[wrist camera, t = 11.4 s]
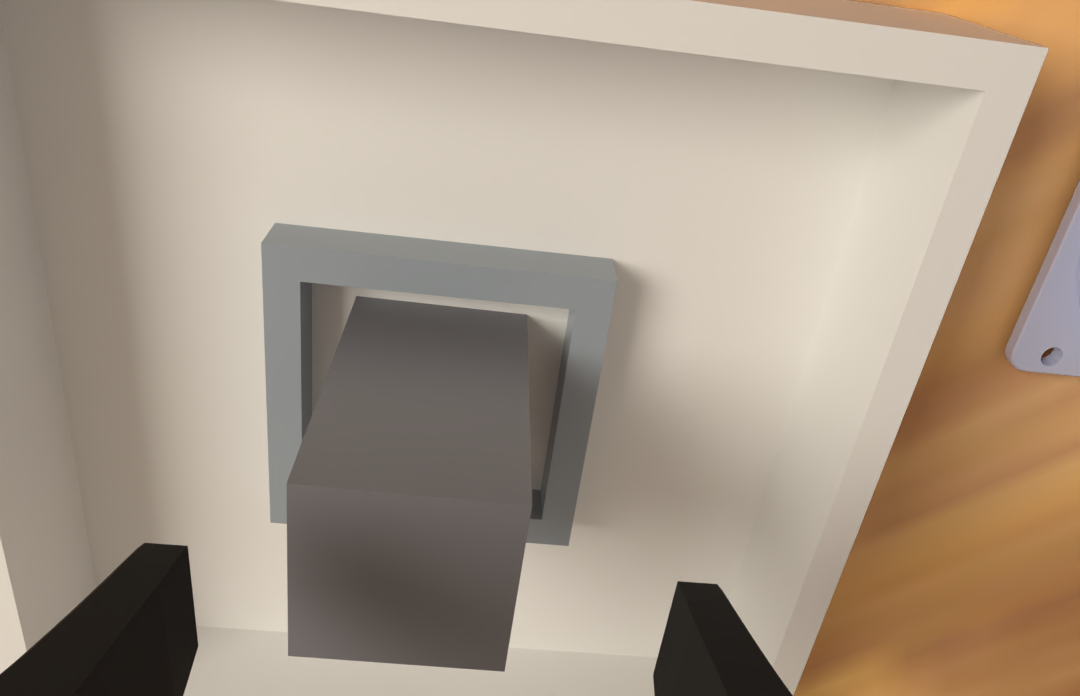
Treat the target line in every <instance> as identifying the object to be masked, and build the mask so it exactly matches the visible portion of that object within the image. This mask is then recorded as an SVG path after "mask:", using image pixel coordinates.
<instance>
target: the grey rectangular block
mask: <svg viewBox="0 0 1080 696" xmlns="http://www.w3.org/2000/svg"><path fill="white" fill-rule="evenodd" d="M286 488H287V597H288V656H295V657H309V658H323V659H337V660H350V661H364V662H378V663H392V664H405V665H419V666H433V667H447V668H461V669H474V670H488V671H502V672H505V666H506V660H507V654H508V648H509V642H510V636H511V630H512V624H513V617H514V611H515V605H516V599H517V593H518V587H519V581H520V575H521V569H522V563H523V557H524V551H525V545H526V539H527V533H528V527H529V521H530V515H531V509H532V483H531V445H530V408H529V370H528V333H527V314H518V313H509V312H499V311H490V310H481V309H472V308H463V307H454V306H445V305H435V304H426V303H417V302H408V301H399V300H390V299H381V298H371V297H362V296H356V298H355V301H354V304H353V306H352V309H351V312H350V315H349V317H348V320H347V323H346V325H345V328H344V331H343V333H342V336H341V339H340V341H339V344H338V347H337V349H336V352H335V355H334V357H333V360H332V363H331V365H330V368H329V371H328V374H327V376H326V379H325V382H324V384H323V387H322V390H321V392H320V395H319V398H318V400H317V403H316V406H315V408H314V411H313V414H312V416H311V419H310V422H309V424H308V427H307V430H306V432H305V435H304V438H303V441H302V443H301V446H300V449H299V451H298V454H297V457H296V459H295V462H294V465H293V467H292V470H291V473H290V475H289V478H288V481H287V483H286Z"/></svg>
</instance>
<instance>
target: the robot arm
mask: <svg viewBox="0 0 1080 696" xmlns="http://www.w3.org/2000/svg"><path fill="white" fill-rule="evenodd" d="M1050 348H1054V349H1053V351H1052V352H1051V353H1050V355H1048V356H1046V357H1044V358H1041V356H1042V354H1043V353H1044V352H1045V351H1046V350H1048V349H1050ZM1005 355H1006V359H1007V360H1008V361H1009V362H1010V363H1011V364H1012V365H1013V366H1014V367H1015V368H1016V369H1018V370H1021V371H1026V372H1036V373H1046V374H1056V375H1066V376H1076V377H1080V181H1079V183H1078V185H1077V187H1076V190H1075V192H1074V194H1073V196H1072V199H1071V201H1070V203H1069V206H1068V208H1067V210H1066V212H1065V215H1064V217H1063V219H1062V221H1061V224H1060V226H1059V228H1058V230H1057V233H1056V235H1055V237H1054V239H1053V242H1052V244H1051V246H1050V248H1049V251H1048V253H1047V255H1046V257H1045V260H1044V262H1043V264H1042V266H1041V269H1040V271H1039V273H1038V276H1037V278H1036V280H1035V282H1034V285H1033V287H1032V289H1031V291H1030V294H1029V296H1028V298H1027V300H1026V303H1025V305H1024V307H1023V309H1022V312H1021V314H1020V316H1019V318H1018V321H1017V323H1016V325H1015V327H1014V330H1013V332H1012V334H1011V336H1010V339H1009V341H1008V343H1007V346H1006V350H1005ZM197 649H198V638H197V629H196V619H195V610H194V600H193V591H192V581H191V572H190V562H189V553H188V546H183V545H170V544H156V543H143V544H142V545H141V546H140V547H138V548H137V549H136V550H135V551H134V552H133V553H132V554H131V555H130V556H129V557H127V558H126V559H125V560H124V561H123V562H122V563H121V564H120V565H119V566H118V567H117V568H116V569H115V570H114V571H113V572H112V573H111V574H110V575H109V576H108V577H107V578H106V579H105V580H104V581H103V582H102V583H100V584H99V585H98V586H97V587H96V588H95V589H94V590H93V591H92V592H91V593H90V594H89V595H88V596H87V597H86V598H85V599H84V600H83V601H81V602H80V603H79V604H78V605H77V606H76V607H75V608H74V609H73V610H72V611H71V612H70V613H69V614H68V615H67V616H65V617H64V618H63V619H62V620H61V621H60V622H59V623H58V624H57V625H55V626H54V627H53V628H52V629H51V630H50V631H49V632H48V633H47V634H45V635H44V636H43V637H42V638H41V639H40V640H39V641H38V642H37V643H35V644H34V645H33V646H32V647H31V648H30V649H29V650H28V651H27V652H25V653H24V654H23V655H22V656H21V657H20V658H19V659H17V660H16V661H15V662H14V663H13V664H12V665H10V666H9V667H8V668H7V669H6V670H4V671H3V672H2V673H1V674H0V696H183V694H184V691H185V688H186V685H187V682H188V679H189V675H190V672H191V669H192V665H193V662H194V659H195V655H196V652H197ZM653 682H654V694H655V696H793V695H792V694H791V692H790V691H789V690H788V688H787V687H786V685H785V684H784V683H783V681H782V680H781V679H780V677H779V676H778V674H777V673H776V671H775V670H774V668H773V667H772V666H771V664H770V663H769V661H768V660H767V658H766V657H765V655H764V654H763V652H762V651H761V649H760V648H759V646H758V645H757V643H756V642H755V640H754V639H753V637H752V636H751V634H750V633H749V631H748V630H747V628H746V626H745V625H744V623H743V622H742V620H741V619H740V617H739V616H738V614H737V612H736V611H735V609H734V608H733V606H732V605H731V603H730V601H729V600H728V598H727V597H726V595H725V594H724V592H723V590H722V589H721V588H720V587H719V586H718V584H710V583H696V582H682V581H678V582H677V585H676V589H675V593H674V597H673V601H672V604H671V608H670V612H669V616H668V620H667V623H666V627H665V631H664V635H663V639H662V642H661V646H660V650H659V654H658V658H657V661H656V665H655V669H654V673H653Z"/></svg>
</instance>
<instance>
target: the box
mask: <svg viewBox="0 0 1080 696" xmlns="http://www.w3.org/2000/svg"><path fill="white" fill-rule="evenodd" d="M1048 49H1049V48H1047V47H1044V46H1041V45H1038V44H1035V43H1032V42H1029V41H1026V40H1023V39H1020V38H1017V37H1014V36H1011V35H1008V34H1005V33H1002V32H999V31H996V30H993V29H990V28H987V27H984V26H981V25H978V24H975V23H972V22H969V21H966V20H963V19H960V18H957V17H954V16H951V15H948V14H945V13H939V12H932V11H924V10H917V9H909V8H902V7H895V6H887V5H880V4H872V3H865V2H858V1H850V0H0V674H1V673H2V672H3V671H4V670H6V669H7V668H8V667H9V666H10V665H12V664H13V663H14V662H15V661H16V660H17V659H19V658H20V657H21V656H22V655H23V654H24V653H25V652H27V651H28V650H29V649H30V648H31V647H32V646H33V645H34V644H35V643H37V642H38V641H39V640H40V639H41V638H42V637H43V636H44V635H45V634H47V633H48V632H49V631H50V630H51V629H52V628H53V627H54V626H55V625H57V624H58V623H59V622H60V621H61V620H62V619H63V618H64V617H65V616H67V615H68V614H69V613H70V612H71V611H72V610H73V609H74V608H75V607H76V606H77V605H78V604H79V603H80V602H81V601H83V600H84V599H85V598H86V597H87V596H88V595H89V594H90V593H91V592H92V591H93V590H94V589H95V588H96V587H97V586H98V585H99V584H100V583H102V582H103V581H104V580H105V579H106V578H107V577H108V576H109V575H110V574H111V573H112V572H113V571H114V570H115V569H116V568H117V567H118V566H119V565H120V564H121V563H122V562H123V561H124V560H125V559H126V558H127V557H129V556H130V555H131V554H132V553H133V552H134V551H135V550H136V549H137V548H138V547H140V546H141V545H142V544H143V543H156V544H170V545H183V546H188V553H189V562H190V572H191V581H192V591H193V600H194V610H195V619H196V629H197V638H198V649H197V652H196V655H195V659H194V662H193V665H192V669H191V672H190V675H189V679H188V682H187V685H186V688H185V691H184V694H183V696H655V694H654V682H653V673H654V669H655V665H656V661H657V658H658V654H659V650H660V646H661V642H662V639H663V635H664V631H665V627H666V623H667V620H668V616H669V612H670V608H671V604H672V601H673V597H674V593H675V589H676V585H677V582H678V581H682V582H696V583H710V584H718V586H719V587H720V588H721V589H722V590H723V592H724V594H725V595H726V597H727V598H728V600H729V601H730V603H731V605H732V606H733V608H734V609H735V611H736V612H737V614H738V616H739V617H740V619H741V620H742V622H743V623H744V625H745V626H746V628H747V630H748V631H749V633H750V634H751V636H752V637H753V639H754V640H755V642H756V643H757V645H758V646H759V648H760V649H761V651H762V652H763V654H764V655H765V657H766V658H767V660H768V661H769V663H770V664H771V666H772V667H773V668H774V670H775V671H776V673H777V674H778V676H779V677H780V679H781V680H782V681H783V683H784V684H785V685H786V687H787V688H788V690H789V691H790V692H791V694H792V695H794V693H795V690H796V688H797V685H798V683H799V680H800V678H801V675H802V673H803V670H804V668H805V665H806V662H807V660H808V657H809V655H810V652H811V650H812V647H813V645H814V642H815V640H816V637H817V635H818V632H819V630H820V627H821V624H822V622H823V619H824V617H825V614H826V612H827V609H828V607H829V604H830V602H831V599H832V597H833V594H834V592H835V589H836V586H837V584H838V581H839V579H840V576H841V574H842V571H843V569H844V566H845V564H846V561H847V559H848V556H849V554H850V551H851V548H852V546H853V543H854V541H855V538H856V536H857V533H858V531H859V528H860V526H861V523H862V521H863V518H864V516H865V513H866V510H867V508H868V505H869V503H870V500H871V498H872V495H873V493H874V490H875V488H876V485H877V483H878V480H879V478H880V475H881V472H882V470H883V467H884V465H885V462H886V460H887V457H888V455H889V452H890V450H891V447H892V445H893V442H894V440H895V437H896V434H897V432H898V429H899V427H900V424H901V422H902V419H903V417H904V414H905V412H906V409H907V407H908V404H909V402H910V399H911V396H912V394H913V391H914V389H915V386H916V384H917V381H918V379H919V376H920V374H921V371H922V369H923V366H924V364H925V361H926V358H927V356H928V353H929V351H930V348H931V346H932V343H933V341H934V338H935V336H936V333H937V331H938V328H939V326H940V323H941V320H942V318H943V315H944V313H945V310H946V308H947V305H948V303H949V300H950V298H951V295H952V293H953V290H954V288H955V285H956V282H957V280H958V277H959V275H960V272H961V270H962V267H963V265H964V262H965V260H966V257H967V255H968V252H969V250H970V247H971V244H972V242H973V239H974V237H975V234H976V232H977V229H978V227H979V224H980V222H981V219H982V217H983V214H984V212H985V209H986V206H987V204H988V201H989V199H990V196H991V194H992V191H993V189H994V186H995V184H996V181H997V179H998V176H999V173H1000V171H1001V168H1002V166H1003V163H1004V161H1005V158H1006V156H1007V153H1008V151H1009V148H1010V146H1011V143H1012V141H1013V138H1014V135H1015V133H1016V130H1017V128H1018V125H1019V123H1020V120H1021V118H1022V115H1023V113H1024V110H1025V108H1026V105H1027V103H1028V100H1029V97H1030V95H1031V92H1032V90H1033V87H1034V85H1035V82H1036V80H1037V77H1038V75H1039V72H1040V70H1041V67H1042V65H1043V62H1044V59H1045V57H1046V54H1047V52H1048ZM356 296H362V297H371V298H381V299H390V300H399V301H408V302H417V303H426V304H435V305H445V306H454V307H463V308H472V309H481V310H490V311H499V312H509V313H518V314H527V333H528V370H529V408H530V445H531V483H532V509H531V515H530V521H529V527H528V533H527V539H526V545H525V551H524V557H523V563H522V569H521V575H520V581H519V587H518V593H517V599H516V605H515V611H514V617H513V624H512V630H511V636H510V642H509V648H508V654H507V660H506V666H505V672H502V671H488V670H474V669H461V668H447V667H433V666H419V665H405V664H392V663H378V662H364V661H350V660H337V659H323V658H309V657H295V656H288V597H287V488H286V483H287V481H288V478H289V475H290V473H291V470H292V467H293V465H294V462H295V459H296V457H297V454H298V451H299V449H300V446H301V443H302V441H303V438H304V435H305V432H306V430H307V427H308V424H309V422H310V419H311V416H312V414H313V411H314V408H315V406H316V403H317V400H318V398H319V395H320V392H321V390H322V387H323V384H324V382H325V379H326V376H327V374H328V371H329V368H330V365H331V363H332V360H333V357H334V355H335V352H336V349H337V347H338V344H339V341H340V339H341V336H342V333H343V331H344V328H345V325H346V323H347V320H348V317H349V315H350V312H351V309H352V306H353V304H354V301H355V298H356Z"/></svg>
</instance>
